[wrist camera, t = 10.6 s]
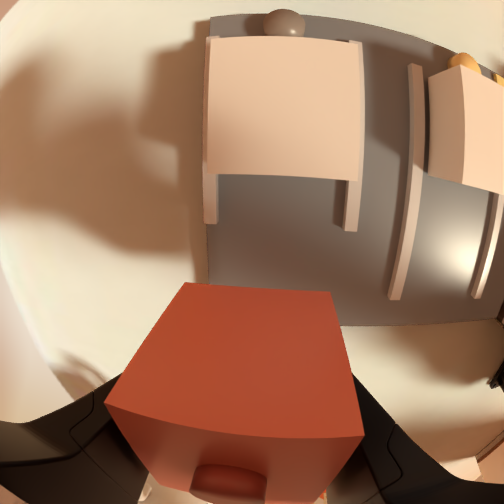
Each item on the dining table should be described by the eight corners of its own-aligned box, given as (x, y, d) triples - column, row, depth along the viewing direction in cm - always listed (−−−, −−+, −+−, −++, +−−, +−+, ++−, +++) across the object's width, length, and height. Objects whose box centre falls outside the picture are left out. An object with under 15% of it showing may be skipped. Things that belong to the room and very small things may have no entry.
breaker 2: (493, 191, 10) (527, 202, 7) (427, 175, 10) (462, 184, 8) (494, 105, 8) (528, 103, 5) (427, 77, 9) (460, 64, 6)
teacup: (232, 418, 20) (210, 520, 11) (226, 474, 25) (212, 537, 16) (108, 384, 21) (60, 461, 11) (137, 450, 26) (113, 506, 17)
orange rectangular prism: (310, 389, 10) (312, 519, 4) (198, 379, 10) (154, 499, 5) (330, 291, 8) (369, 464, 3) (184, 282, 8) (89, 425, 3)
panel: (488, 309, 14) (503, 325, 12) (215, 307, 16) (206, 328, 14) (517, 95, 8) (537, 93, 6) (216, 26, 10) (205, 8, 8)
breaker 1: (339, 174, 11) (357, 181, 8) (225, 168, 12) (207, 174, 9) (341, 67, 9) (357, 44, 7) (227, 63, 10) (210, 38, 7)
